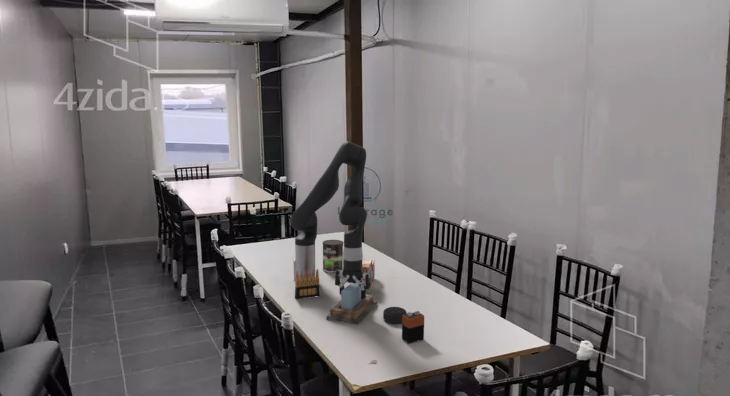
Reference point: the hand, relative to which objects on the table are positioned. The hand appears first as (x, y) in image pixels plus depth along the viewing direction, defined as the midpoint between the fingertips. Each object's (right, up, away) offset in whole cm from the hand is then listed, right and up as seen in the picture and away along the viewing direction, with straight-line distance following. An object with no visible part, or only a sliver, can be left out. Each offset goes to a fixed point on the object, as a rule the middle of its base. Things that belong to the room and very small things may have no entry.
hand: (352, 297), depth 217 cm
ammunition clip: (-20, -3, +17) cm, 26 cm away
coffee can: (-11, +3, +56) cm, 57 cm away
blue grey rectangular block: (0, -4, +1) cm, 5 cm away
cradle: (0, -6, +1) cm, 6 cm away
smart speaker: (+16, -8, -7) cm, 19 cm away
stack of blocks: (+5, -1, +33) cm, 33 cm away
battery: (+22, -11, -24) cm, 34 cm away
